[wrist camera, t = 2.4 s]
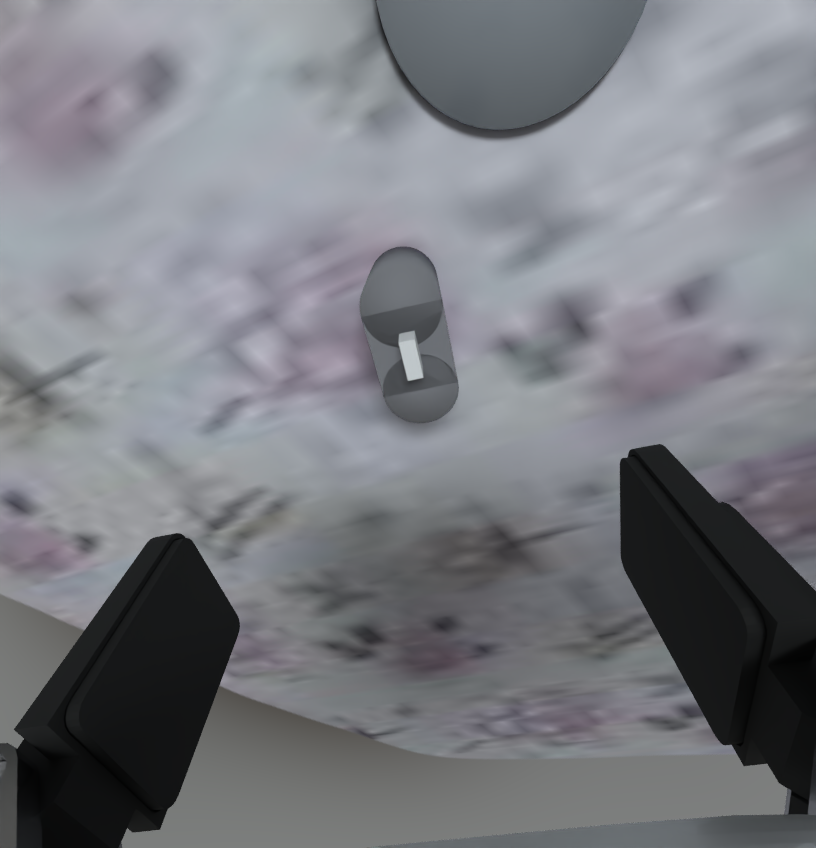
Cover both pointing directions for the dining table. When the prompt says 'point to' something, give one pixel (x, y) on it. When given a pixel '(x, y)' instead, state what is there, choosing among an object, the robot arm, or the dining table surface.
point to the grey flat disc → (506, 53)
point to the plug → (409, 335)
